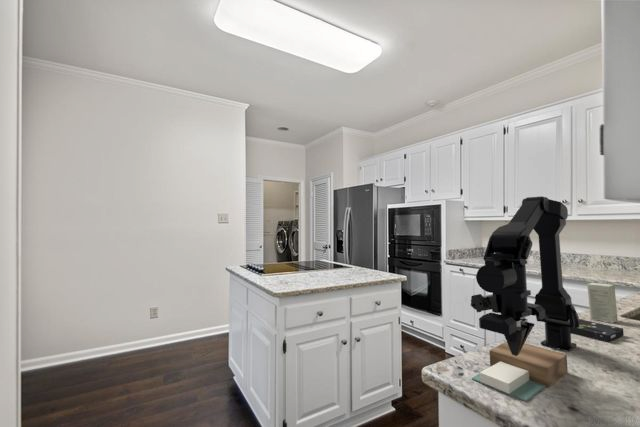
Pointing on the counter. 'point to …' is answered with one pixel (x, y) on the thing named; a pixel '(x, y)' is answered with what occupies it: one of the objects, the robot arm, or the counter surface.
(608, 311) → the skincare box
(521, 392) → the mat
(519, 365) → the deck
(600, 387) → the counter surface
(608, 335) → the disk drive
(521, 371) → the cream rectangular block
